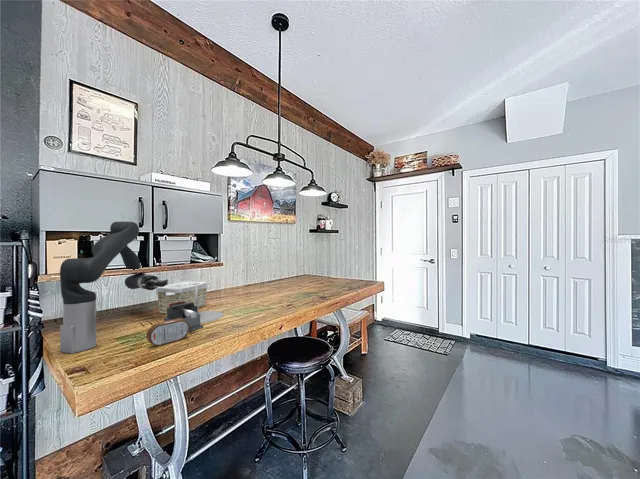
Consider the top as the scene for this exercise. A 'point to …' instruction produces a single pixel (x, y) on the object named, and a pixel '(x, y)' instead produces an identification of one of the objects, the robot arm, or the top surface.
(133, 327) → the top surface
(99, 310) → the top surface
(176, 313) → the block
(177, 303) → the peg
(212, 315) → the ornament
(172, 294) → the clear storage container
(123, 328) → the top surface
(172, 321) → the tin
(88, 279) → the robot arm
